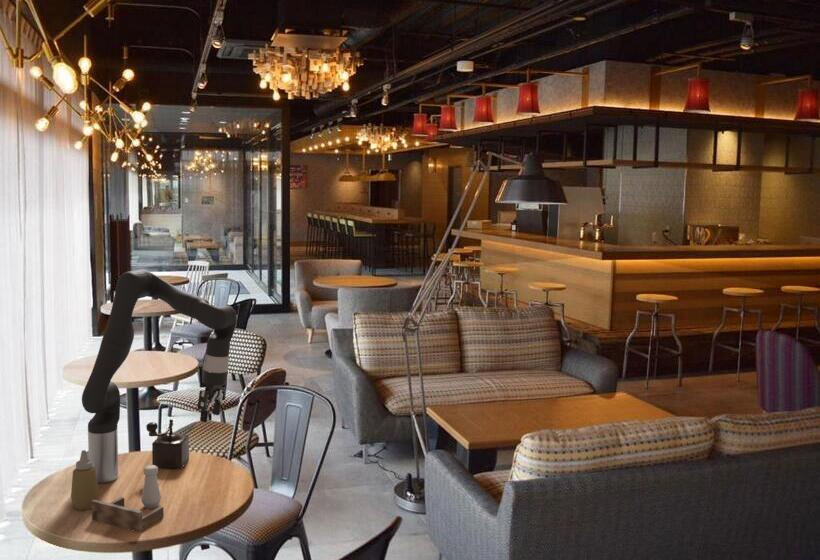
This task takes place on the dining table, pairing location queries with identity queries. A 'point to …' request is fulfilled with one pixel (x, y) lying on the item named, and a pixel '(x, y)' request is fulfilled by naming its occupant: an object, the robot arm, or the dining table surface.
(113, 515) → the walnut bay
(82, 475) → the squeeze bottle
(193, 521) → the dining table surface
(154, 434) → the manual coffee grinder
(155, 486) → the salt shaker
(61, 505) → the dining table surface
